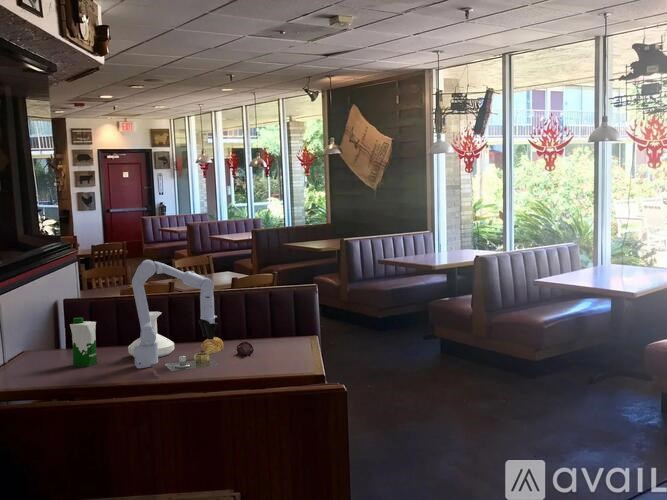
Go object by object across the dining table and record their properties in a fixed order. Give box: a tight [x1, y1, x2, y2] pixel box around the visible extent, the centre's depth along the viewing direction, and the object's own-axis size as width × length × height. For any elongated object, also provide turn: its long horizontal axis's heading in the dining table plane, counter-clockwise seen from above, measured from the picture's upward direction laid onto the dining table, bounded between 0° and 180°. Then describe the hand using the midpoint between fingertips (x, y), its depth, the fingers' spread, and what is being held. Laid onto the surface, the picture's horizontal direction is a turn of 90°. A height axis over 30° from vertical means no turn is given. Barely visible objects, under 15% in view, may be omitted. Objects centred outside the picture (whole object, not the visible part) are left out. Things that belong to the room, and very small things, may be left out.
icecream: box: [236, 341, 254, 357], centre depth 296 cm, size 7×7×15 cm
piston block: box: [164, 355, 221, 372], centre depth 280 cm, size 20×14×5 cm
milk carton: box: [69, 316, 98, 368], centre depth 289 cm, size 9×9×20 cm
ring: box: [193, 352, 210, 363], centre depth 285 cm, size 6×6×3 cm
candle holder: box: [127, 311, 175, 358], centre depth 302 cm, size 20×20×19 cm
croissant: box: [200, 336, 224, 355], centre depth 309 cm, size 21×10×8 cm, turn 179°
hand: (208, 337), depth 291 cm, fingers open, 7 cm apart
